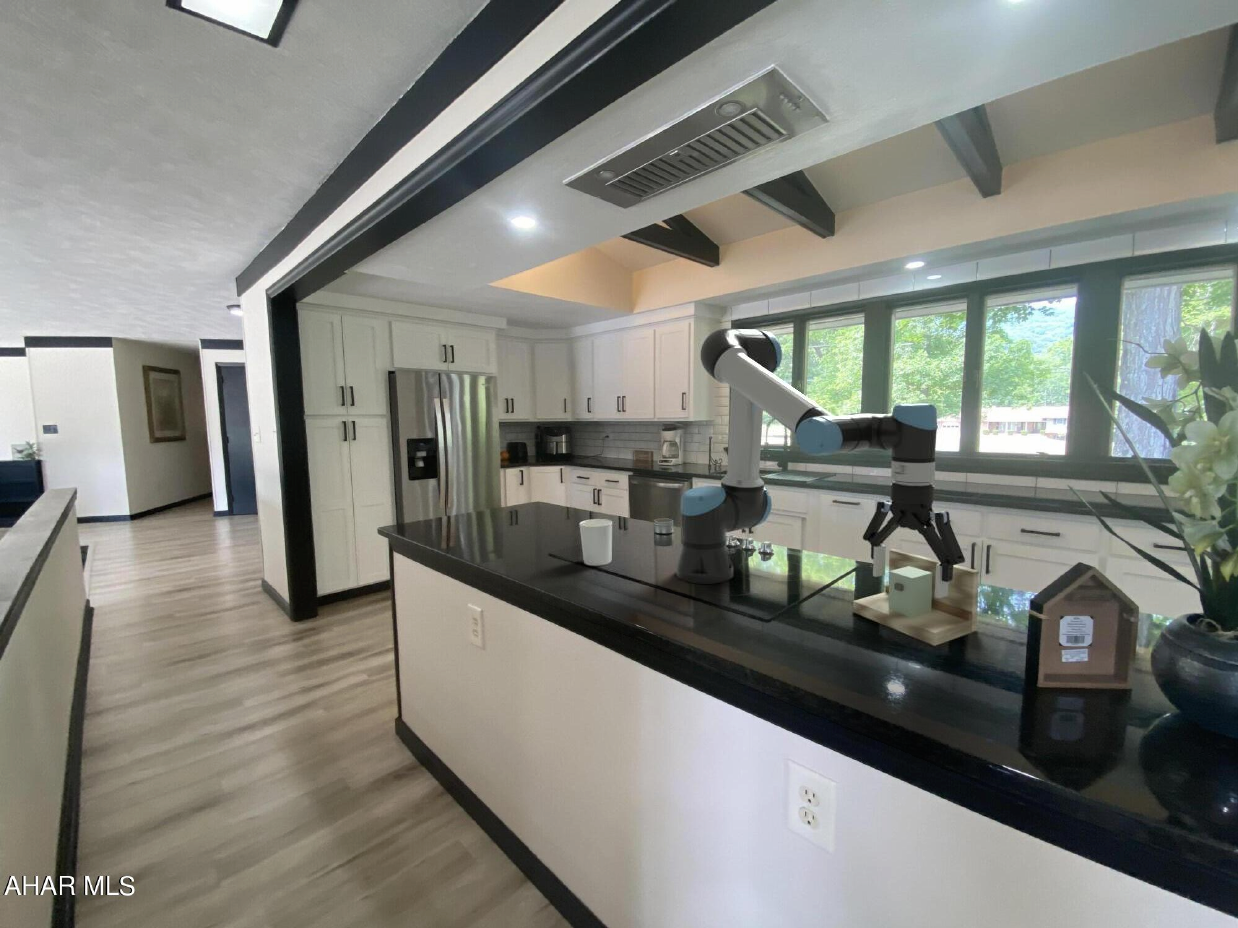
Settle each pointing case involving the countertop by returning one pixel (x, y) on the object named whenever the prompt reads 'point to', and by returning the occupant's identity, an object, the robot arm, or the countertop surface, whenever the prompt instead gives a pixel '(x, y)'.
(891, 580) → the cabinet block
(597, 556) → the candle holder
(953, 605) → the cleat board
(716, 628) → the countertop surface
